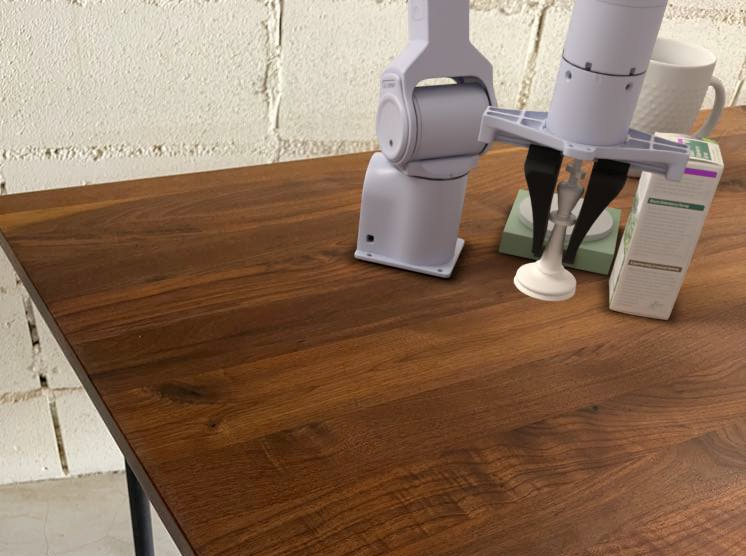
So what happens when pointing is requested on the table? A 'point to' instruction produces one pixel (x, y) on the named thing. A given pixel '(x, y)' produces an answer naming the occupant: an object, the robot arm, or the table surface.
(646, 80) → the mug
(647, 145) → the robot arm
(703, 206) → the syrup box
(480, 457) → the table surface
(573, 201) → the chess piece
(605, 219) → the scale
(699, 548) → the table surface
